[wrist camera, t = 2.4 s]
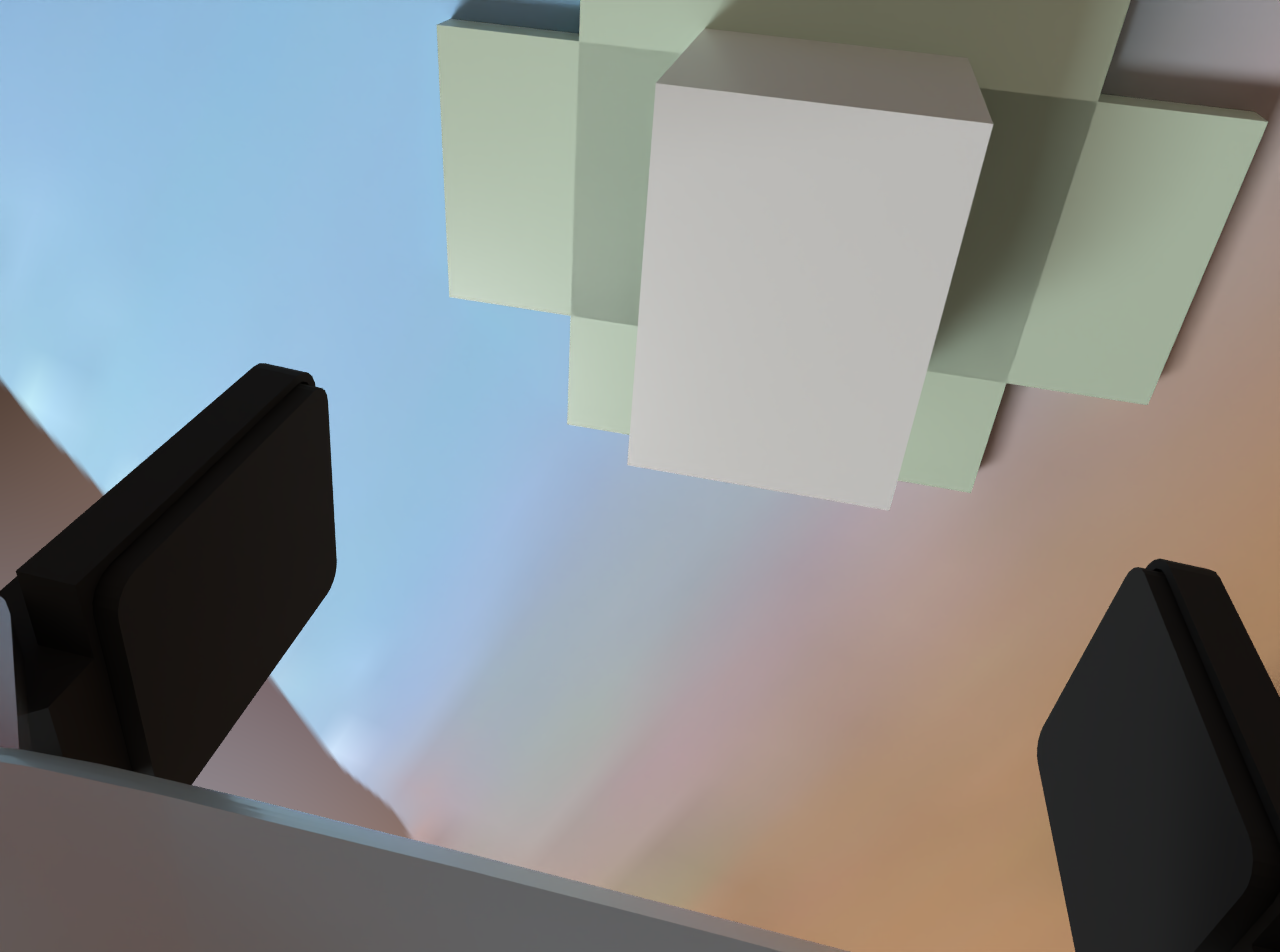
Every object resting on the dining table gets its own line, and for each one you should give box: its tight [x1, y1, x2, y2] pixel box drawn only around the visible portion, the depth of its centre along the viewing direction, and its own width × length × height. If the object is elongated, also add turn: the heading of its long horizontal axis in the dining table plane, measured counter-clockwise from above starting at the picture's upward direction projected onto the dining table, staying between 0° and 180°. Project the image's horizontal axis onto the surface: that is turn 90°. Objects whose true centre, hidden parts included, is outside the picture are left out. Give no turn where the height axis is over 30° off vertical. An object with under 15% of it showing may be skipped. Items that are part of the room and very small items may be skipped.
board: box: [437, 0, 1268, 511], centre depth 19 cm, size 16×12×6 cm
